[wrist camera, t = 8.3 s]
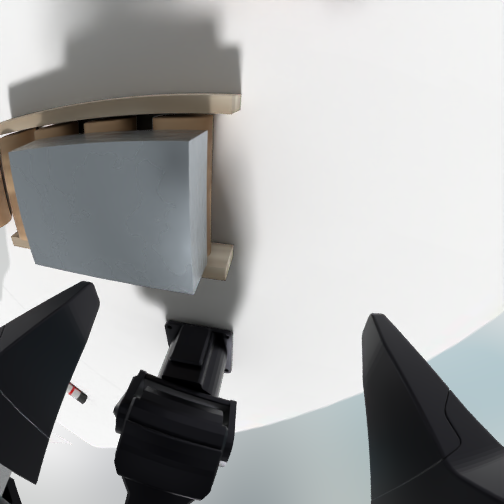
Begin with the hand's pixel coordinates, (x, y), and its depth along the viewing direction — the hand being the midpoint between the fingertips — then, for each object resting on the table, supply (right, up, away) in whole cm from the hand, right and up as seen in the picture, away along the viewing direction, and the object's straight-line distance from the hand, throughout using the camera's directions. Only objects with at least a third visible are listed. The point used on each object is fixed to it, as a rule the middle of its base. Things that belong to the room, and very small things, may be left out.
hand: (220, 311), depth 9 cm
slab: (-7, +5, +8) cm, 12 cm away
